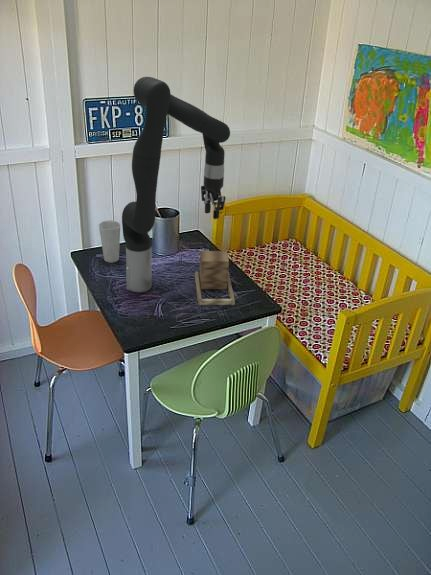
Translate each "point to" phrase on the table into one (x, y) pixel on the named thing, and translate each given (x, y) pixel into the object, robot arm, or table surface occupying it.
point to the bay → (214, 301)
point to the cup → (110, 240)
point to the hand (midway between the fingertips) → (211, 215)
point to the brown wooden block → (213, 269)
